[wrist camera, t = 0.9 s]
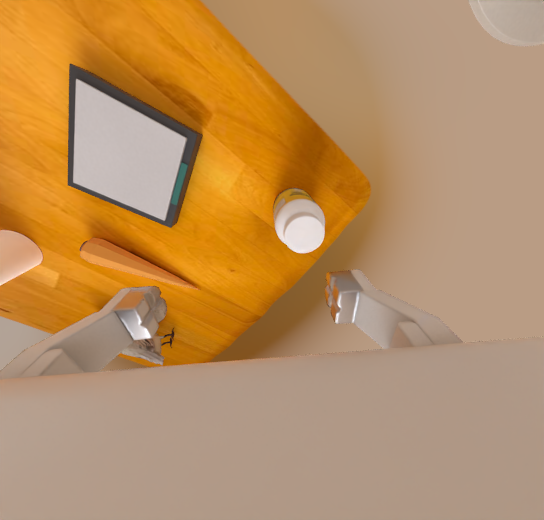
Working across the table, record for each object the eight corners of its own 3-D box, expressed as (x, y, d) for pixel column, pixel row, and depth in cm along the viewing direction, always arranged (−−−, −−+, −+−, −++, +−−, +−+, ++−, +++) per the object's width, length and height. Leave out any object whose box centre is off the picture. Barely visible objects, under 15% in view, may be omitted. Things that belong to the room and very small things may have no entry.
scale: (86, 70, 23) (65, 61, 21) (202, 135, 27) (196, 134, 25) (81, 182, 30) (64, 185, 27) (176, 222, 33) (169, 229, 31)
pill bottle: (319, 209, 33) (344, 237, 23) (289, 233, 35) (299, 269, 25) (295, 177, 30) (311, 194, 20) (264, 205, 32) (264, 233, 22)
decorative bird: (101, 308, 42) (72, 338, 36) (179, 326, 46) (165, 356, 39) (102, 325, 45) (74, 356, 38) (175, 340, 48) (162, 371, 42)
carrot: (93, 242, 35) (75, 263, 32) (92, 228, 32) (72, 249, 29) (201, 284, 43) (194, 303, 40) (208, 276, 40) (201, 296, 37)
